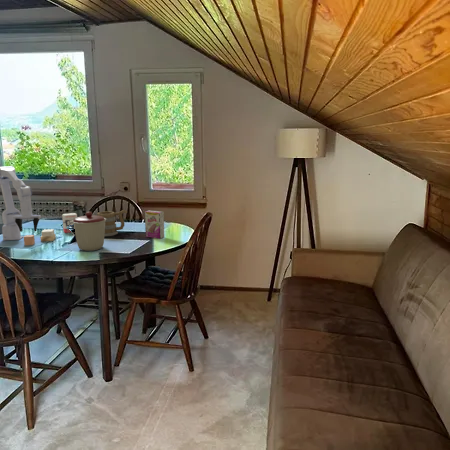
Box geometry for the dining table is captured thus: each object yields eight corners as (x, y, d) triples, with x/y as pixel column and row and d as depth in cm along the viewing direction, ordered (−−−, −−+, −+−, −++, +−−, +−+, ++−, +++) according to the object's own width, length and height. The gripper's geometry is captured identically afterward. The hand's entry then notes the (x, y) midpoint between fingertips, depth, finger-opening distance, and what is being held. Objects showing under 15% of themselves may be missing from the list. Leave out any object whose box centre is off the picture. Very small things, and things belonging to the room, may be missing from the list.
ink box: (65, 233, 274) (63, 215, 272) (63, 231, 278) (61, 214, 276) (78, 231, 279) (77, 213, 276) (76, 230, 283) (75, 212, 280)
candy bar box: (145, 237, 262) (144, 211, 259) (149, 235, 267) (148, 210, 264) (160, 239, 258) (159, 212, 254) (164, 237, 262) (164, 211, 259)
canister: (108, 251, 230) (106, 213, 226) (73, 254, 225) (70, 215, 221) (107, 243, 247) (105, 208, 243) (74, 246, 242) (72, 209, 238)
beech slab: (40, 241, 253) (40, 237, 252) (43, 239, 260) (43, 234, 259) (53, 241, 254) (52, 236, 253) (55, 238, 261) (55, 233, 260)
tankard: (98, 237, 263) (96, 213, 260) (95, 232, 275) (94, 210, 272) (130, 234, 271) (129, 211, 268) (126, 230, 283) (125, 208, 280)
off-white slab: (41, 236, 253) (41, 231, 252) (44, 234, 259) (43, 229, 258) (52, 236, 254) (52, 231, 254) (54, 234, 260) (54, 229, 259)
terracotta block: (24, 245, 244) (23, 236, 242) (26, 243, 248) (25, 235, 247) (32, 245, 244) (31, 236, 243) (34, 243, 249) (34, 234, 248)
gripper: (10, 209, 237) (12, 233, 239) (37, 208, 239) (39, 232, 242) (14, 207, 244) (16, 230, 246) (40, 206, 246) (43, 229, 248)
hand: (28, 231), depth 244 cm, fingers open, 7 cm apart
